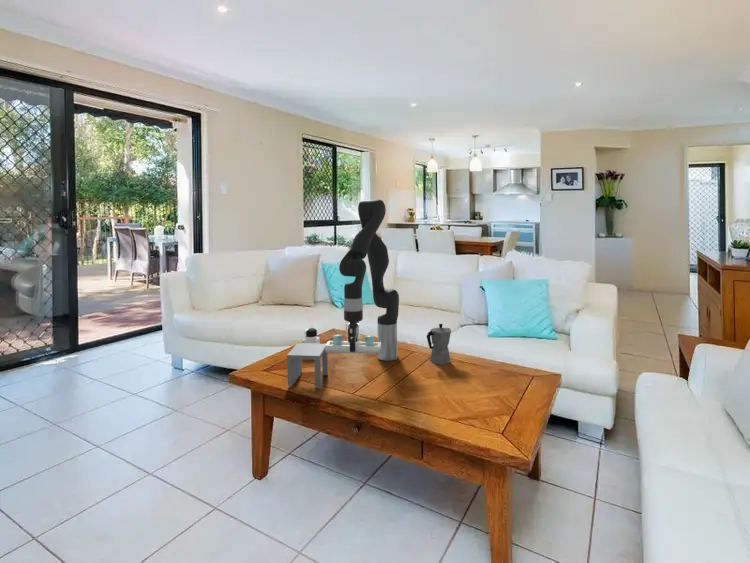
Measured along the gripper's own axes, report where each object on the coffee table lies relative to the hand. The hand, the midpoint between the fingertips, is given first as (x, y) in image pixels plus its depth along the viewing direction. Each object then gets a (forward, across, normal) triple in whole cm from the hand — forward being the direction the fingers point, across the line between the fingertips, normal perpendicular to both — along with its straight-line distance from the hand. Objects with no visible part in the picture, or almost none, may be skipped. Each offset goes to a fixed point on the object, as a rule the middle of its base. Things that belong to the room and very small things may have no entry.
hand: (353, 348), depth 182 cm
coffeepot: (+14, +27, -36) cm, 47 cm away
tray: (+1, 0, 0) cm, 1 cm away
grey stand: (+14, 0, +19) cm, 24 cm away
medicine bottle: (+14, +36, +26) cm, 47 cm away
